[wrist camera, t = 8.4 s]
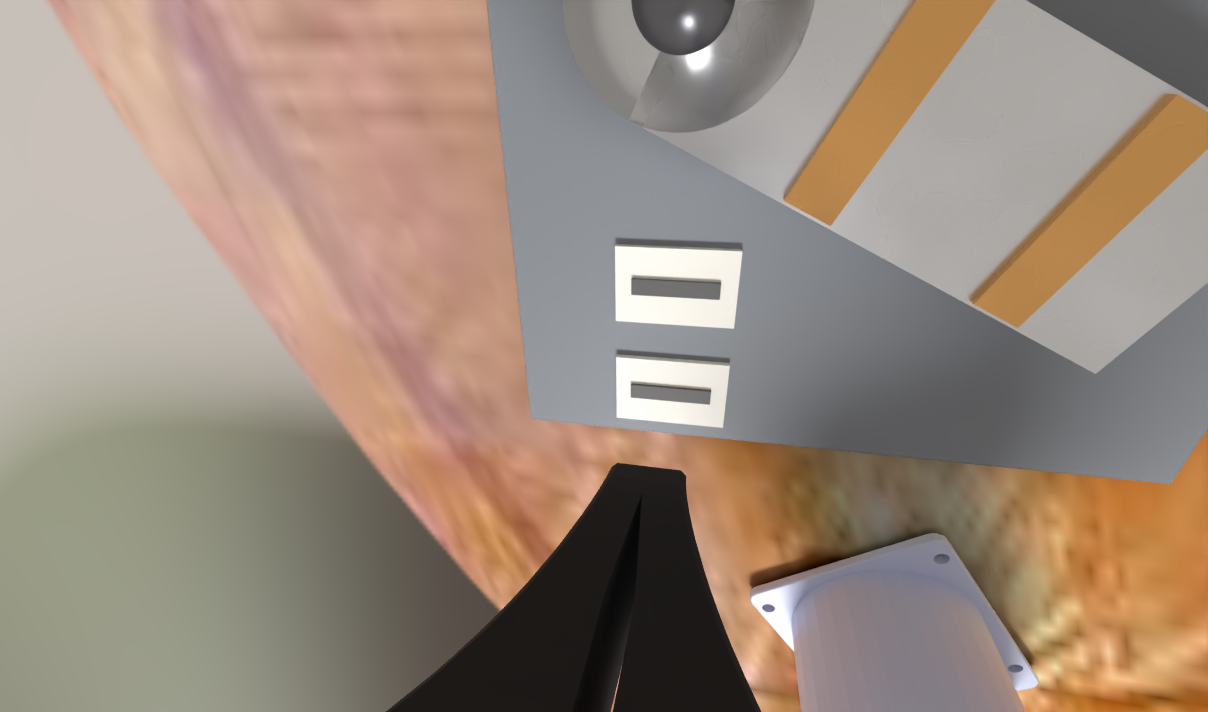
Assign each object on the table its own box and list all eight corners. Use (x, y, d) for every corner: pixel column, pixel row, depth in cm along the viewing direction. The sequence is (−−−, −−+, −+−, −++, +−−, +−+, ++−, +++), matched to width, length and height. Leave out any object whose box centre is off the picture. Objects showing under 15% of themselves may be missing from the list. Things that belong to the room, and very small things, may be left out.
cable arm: (548, 64, 13) (522, 66, 11) (640, -198, 11) (624, -245, 9) (1059, 342, 14) (1105, 383, 12) (1259, 165, 11) (1353, 185, 10)
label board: (1509, -118, 10) (1607, -139, 9) (1148, 462, 17) (1177, 491, 16) (495, -56, 13) (474, -65, 12) (539, 404, 20) (528, 424, 19)
